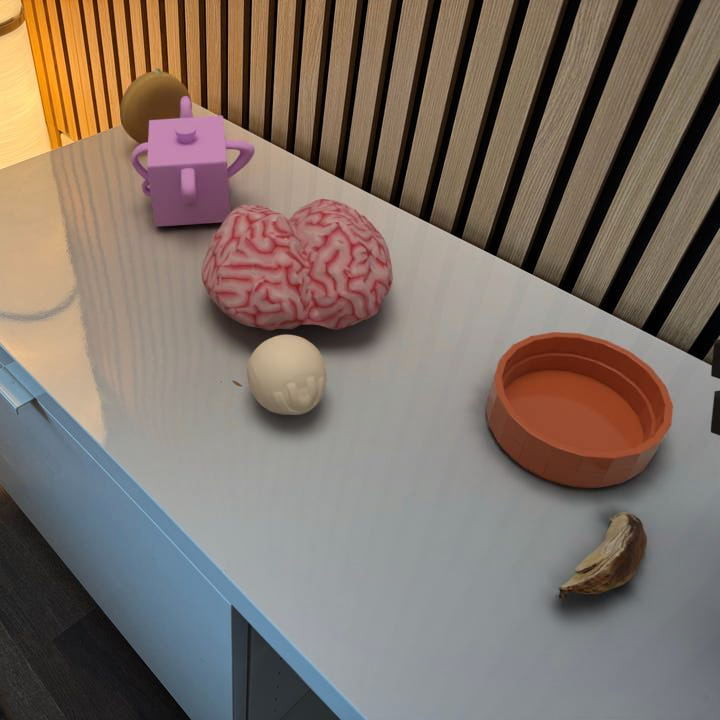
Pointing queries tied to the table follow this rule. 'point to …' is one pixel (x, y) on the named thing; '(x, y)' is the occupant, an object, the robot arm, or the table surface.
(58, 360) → the table surface
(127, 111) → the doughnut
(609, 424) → the bowl
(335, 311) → the brain
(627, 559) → the oyster shell
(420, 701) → the table surface
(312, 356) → the cream ball
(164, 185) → the teapot
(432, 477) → the table surface
